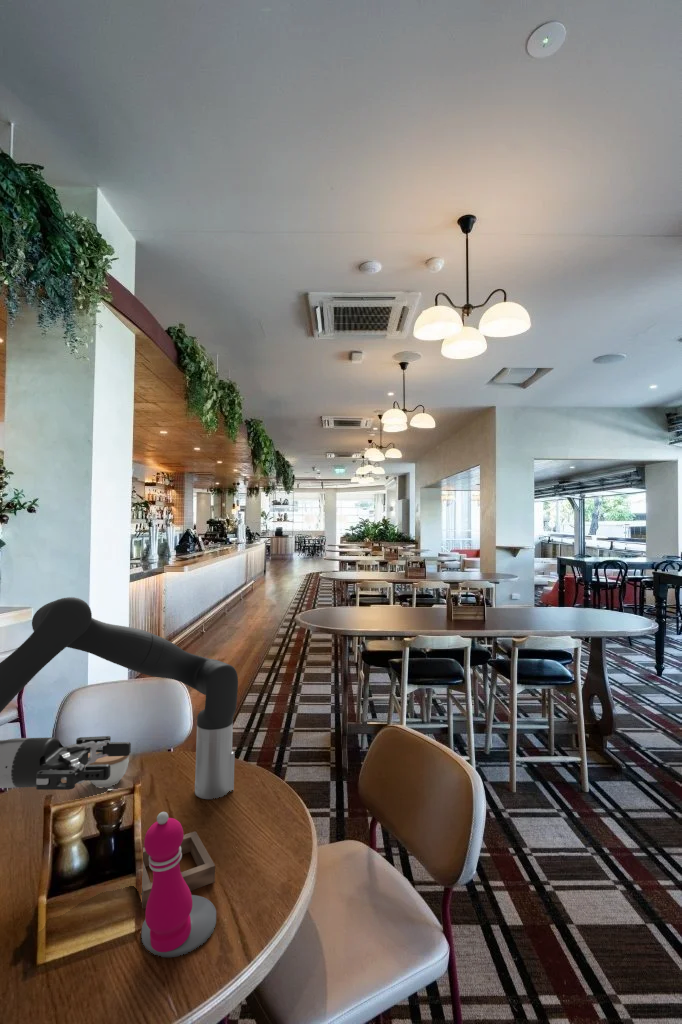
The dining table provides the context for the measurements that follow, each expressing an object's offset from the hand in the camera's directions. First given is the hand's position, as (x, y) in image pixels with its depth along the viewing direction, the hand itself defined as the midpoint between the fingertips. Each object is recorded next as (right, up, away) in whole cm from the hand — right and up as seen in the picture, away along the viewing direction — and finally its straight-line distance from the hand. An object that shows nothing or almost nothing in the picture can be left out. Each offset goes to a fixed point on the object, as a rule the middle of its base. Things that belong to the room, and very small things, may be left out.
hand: (120, 759), depth 83 cm
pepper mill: (+10, -26, -5) cm, 29 cm away
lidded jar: (-25, -31, +47) cm, 61 cm away
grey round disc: (+11, -28, -1) cm, 30 cm away
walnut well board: (+5, -29, +12) cm, 31 cm away
